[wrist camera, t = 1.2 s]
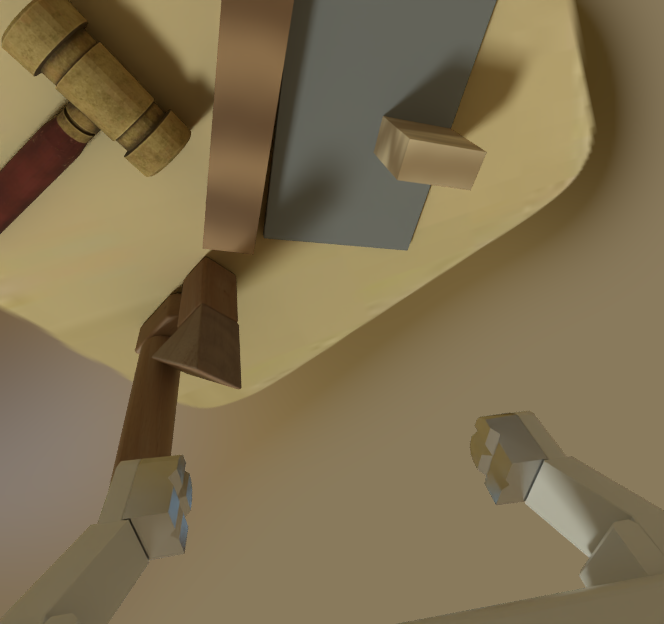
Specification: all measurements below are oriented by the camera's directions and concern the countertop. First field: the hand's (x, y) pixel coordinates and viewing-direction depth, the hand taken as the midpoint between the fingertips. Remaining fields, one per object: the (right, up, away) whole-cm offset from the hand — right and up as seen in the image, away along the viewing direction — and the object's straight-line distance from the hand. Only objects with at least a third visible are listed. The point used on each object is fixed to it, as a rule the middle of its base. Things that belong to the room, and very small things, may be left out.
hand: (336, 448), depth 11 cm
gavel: (-22, +15, +19) cm, 32 cm away
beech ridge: (+6, +18, +22) cm, 29 cm away
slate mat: (+2, +18, +21) cm, 28 cm away
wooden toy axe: (-14, +5, +28) cm, 32 cm away
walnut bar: (-7, +19, +19) cm, 28 cm away
